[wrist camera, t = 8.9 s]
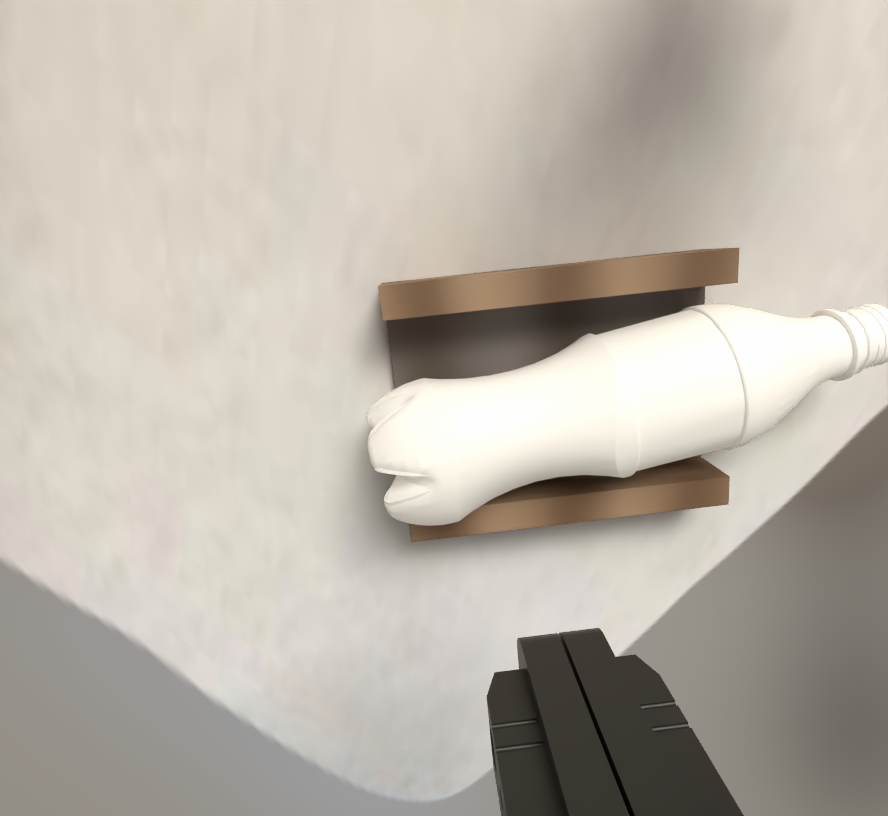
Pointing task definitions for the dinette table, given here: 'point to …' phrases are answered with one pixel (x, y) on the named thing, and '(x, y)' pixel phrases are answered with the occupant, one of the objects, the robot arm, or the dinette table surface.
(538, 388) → the water bottle
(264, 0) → the dinette table surface
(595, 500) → the walnut cradle
